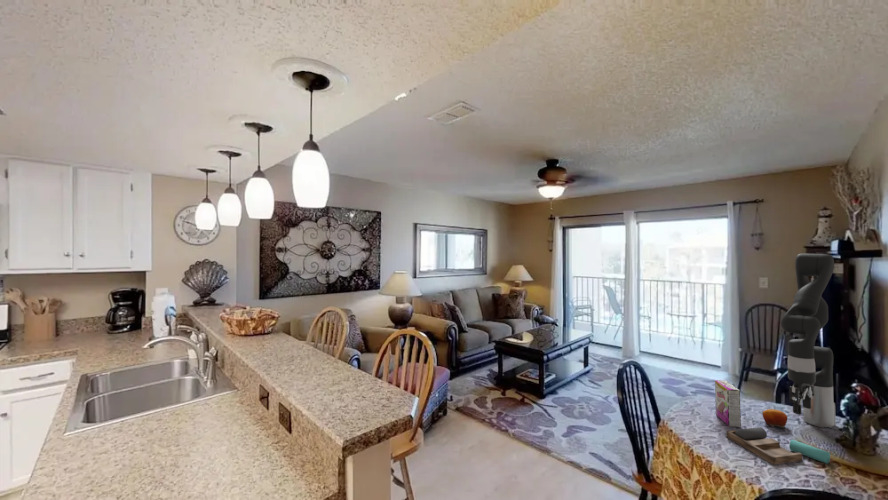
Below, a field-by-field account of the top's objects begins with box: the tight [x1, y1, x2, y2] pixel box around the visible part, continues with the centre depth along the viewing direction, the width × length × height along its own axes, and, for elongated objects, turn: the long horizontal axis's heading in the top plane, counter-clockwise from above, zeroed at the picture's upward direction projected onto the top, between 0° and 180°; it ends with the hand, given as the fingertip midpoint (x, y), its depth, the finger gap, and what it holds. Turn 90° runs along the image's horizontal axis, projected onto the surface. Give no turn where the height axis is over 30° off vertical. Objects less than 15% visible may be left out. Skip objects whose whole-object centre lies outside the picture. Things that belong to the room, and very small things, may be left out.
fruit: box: [762, 408, 788, 430], centre depth 159 cm, size 8×8×8 cm
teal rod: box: [789, 439, 831, 465], centre depth 137 cm, size 10×4×4 cm
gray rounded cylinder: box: [735, 426, 768, 440], centre depth 148 cm, size 10×4×4 cm, turn 97°
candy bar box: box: [714, 379, 742, 428], centre depth 165 cm, size 11×5×16 cm, turn 168°
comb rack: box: [726, 429, 803, 465], centre depth 143 cm, size 12×19×2 cm, turn 7°
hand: (802, 410), depth 139 cm, fingers open, 8 cm apart
